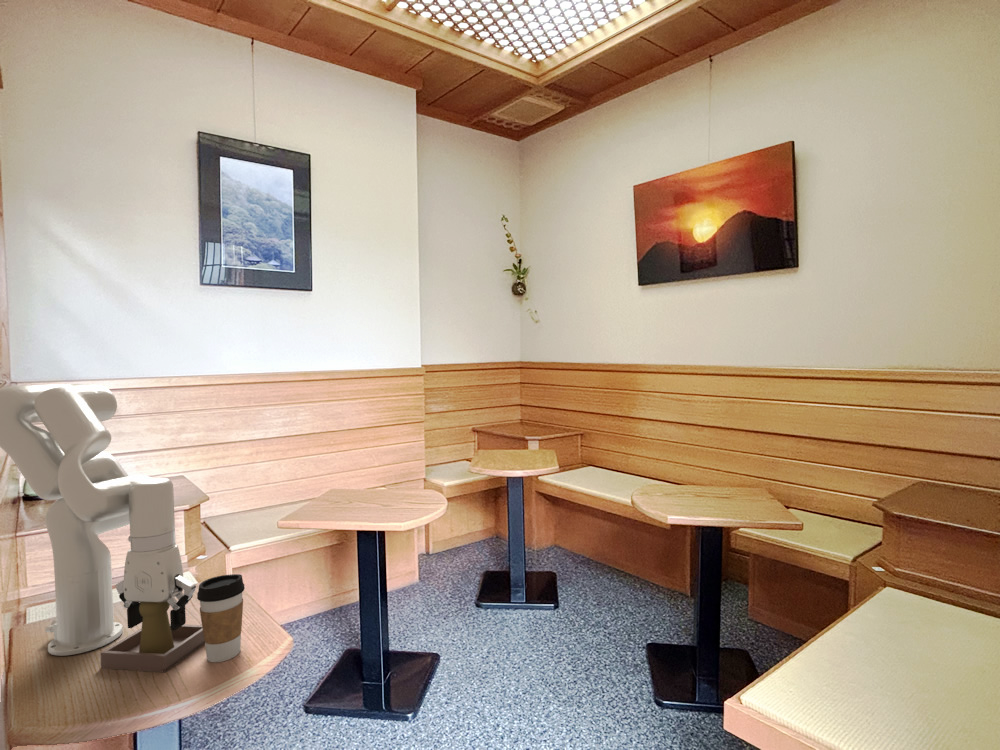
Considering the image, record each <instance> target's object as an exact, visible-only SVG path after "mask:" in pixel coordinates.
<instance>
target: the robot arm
mask: <svg viewBox="0 0 1000 750" xmlns="http://www.w3.org/2000/svg"><path fill="white" fill-rule="evenodd" d="M117 408H118V402H117V399H116V397H115V395H114V393H113V392H112V391H111V390H110V389H109V388H107V387H105V386H103V385H99V384H97V385H96V384H78V383H77V384H76V383H59V384H57V383H56V384H25V385H11V386H4V387H0V449H1V450H3V451H4V452H5V453H6V454H7V455H8V457H10V458H11V459H12V461H13V462H14V464H15V466H16V467H17V469H18V471H20V473H21V475H22V476H23V478H24V479H25V481H26V482H27V484H28V485H29V487H30V488H31V489H32V491H33V492H34V493H35V494H36V495H37V496H38V497H39V498H40V499H41V500H44V501H54V502H53V503H52V504H51V505H50V506H49V507H48V508H47V510H46V513H45V517H44V518H45V526H46V529H47V533H48V536H49V539H50V544H51V549H52V556H53V557H52V558H53V571H54V572H53V574H54V594H55V596H54V597H55V615H56V617H55V618H53V619H52V621H51V623H50V625H49V624H48V625H47V626H46V627H45V628H44V631H45V633H53V639H51V640H50V642H49V643H48V645H47V652H48V654H50V655H52V656H56V657H58V656H60V657H61V656H66V657H67V656H72V655H78V654H79V655H80V654H82V653H87V652H90V651H93V650H96V649H98V648H99V649H100V648H102V647H103V646H106V645H108V644H110V643H112V642H113V641H114V640H117V639H118V638H119V637H120V636H121V635H122V634H123V631H124V627H123V626H124V625H123V624H122V623H120V622H118V621H117V622H116V621H114V601H113V600H114V599H113V598H114V597H113V594H114V593H113V578H112V577H113V576H112V555H111V551H110V549H109V547H108V546H107V545H106V544H105V543H104V542H103V541H102V540H101V539H100V538H99V535H101V534H104V533H105V532H109V531H112V530H115V529H116V530H117V529H121V528H123V527H126V526H129V536H128V538H127V541H128V542H129V543H130V549H129V550H127V553H126V556H125V562H124V570H123V580H121V581H120V582H118V583H116V584H115V589H116V591H117V594H119V595H118V597H119V599H120V600H121V601H122V603H123V608H125V609H126V616H127V628H128V629H133V628H135V627H136V626H137V625H140V624H142V621H143V617H142V616H141V614H140V612H139V606H140V604H141V602H154V603H162V602H165V601H167V602H168V603H169V604H170V607H171V608H172V610H170V612H169V615H170V619H169V621H170V624H171V630H176V629H178V628H179V627H181V626H183V625H184V624H186V622H187V621H186V620H187V619H186V618H187V617H186V616H187V615H186V606H187V605H188V604H189V601H190V600H192V598H193V595H194V593H195V590H196V589H197V585H196V584H195V583H193V582H192V581H190V580H188V579H187V578H185V577H184V571H183V570H184V569H183V563H182V558H181V557H182V556H181V553H180V549H179V548H180V547H179V545H178V544H176V522H175V521H176V519H175V500H174V499H175V498H174V494H175V493H174V483H173V482H172V480H171V479H169V478H167V477H155V478H154V477H151V476H148V475H144V474H133V475H128V473H127V472H126V471H125V469H124V468H123V466H122V465H121V463H120V462H119V461H118V460H117V459H116V457H114V456H113V455H112V454H110V453H108V452H106V451H105V450H106V449H107V448H108V447H109V445H110V444H111V442H112V434H111V433H110V431H109V430H108V429H107V427H106V425H105V424H104V423H103V422H105V421H109V420H110V419H112V418H113V417H115V414H116V412H117V411H118V409H117ZM33 423H43V425H44V426H45V428H46V429H43V428H41V427H39V426H37V425H35V424H33Z"/></svg>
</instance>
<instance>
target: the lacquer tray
mask: <svg viewBox="0 0 1000 750" xmlns="http://www.w3.org/2000/svg"><path fill="white" fill-rule="evenodd" d="M170 628H171V623H170ZM141 630H142V628H140V629H138V630H136V631H135V632H133V633H132V634H129V635H128V636H126V637H125V638H123V639H121V640H120V641H118V642H116V643H115V644H112V645H111V646H110V647H108V648H106V649H104V650H103V651H101V652H100V668H101V669H106V670H107V669H112V670H122V671H123V670H124V671H138V672H139V671H140V672H142V671H143V672H152V673H153V672H155V673H157V672H158V673H167V671H168V672H169V670H170V669H172V668H173V667H175V666H177V665H178V664H179V663H180V662H182V661H183V660H185V659H186V658H187V657H188V656H190V655H191V654H192V653H194V652H195V651H197V650H198V649H199V648H201V647H202V646H203V645H205V641H204V635H203V628H202V624H186V623H185V624H184V625H183V626H181V627H179V628H178V629H176V630H171V633H172V638H173V643H174V648H172V649H171V650H169V651H168V652H166V653H165V654H156V653H139V648H140V639H141Z"/></svg>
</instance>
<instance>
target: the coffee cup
mask: <svg viewBox="0 0 1000 750" xmlns="http://www.w3.org/2000/svg"><path fill="white" fill-rule="evenodd" d="M243 580H244V579H243V575H242V574H239V573H238V574H236V573H235V574H224V575H222V574H221V575H218V576H213V577H211V578H208V579H205V580H203V581H202V582H200V584H199V585H198V591H197V592H196V593H197V594H196V596H197V597H196V599H197V600H198V601H199V605H200V607H199V614H200V620H201V625H202V628H203V635H204V641H205V644H204V645H205V652H206V659H207V661H208V662H210V663H221V662H225V661H228V660H231V659H233V658H235V657H236V656H237V655H239V654H240V653H241V647H242V646H241V643H242V642H241V640H242V626H243V625H242V624H243V612H244V611H243V609H244V599H243V592H244V591H245V583H244V581H243Z"/></svg>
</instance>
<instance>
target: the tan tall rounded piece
mask: <svg viewBox="0 0 1000 750" xmlns="http://www.w3.org/2000/svg"><path fill="white" fill-rule="evenodd" d="M170 607H171V605H170V604H169V603H168V602H167V601H165V602H162V603H154V602H141V604H140V606H139V612H140V614H141V616H142V617H143V621H142V622H141V629H142V630H141V639H140V648H139V653H156V654H165V653H166V652H168V651H169V650H171V649H172V648H174V643H173V638H172V633H171V628H170V624H171V622H170V619H169V614H168V610H170Z"/></svg>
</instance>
